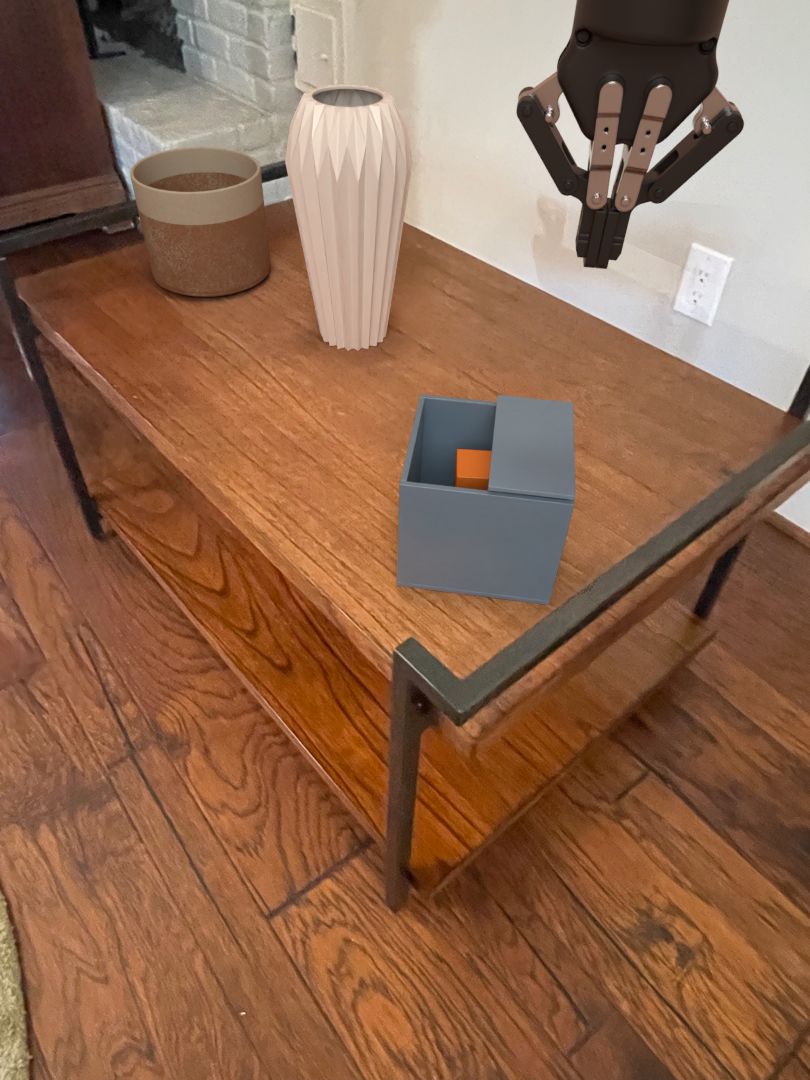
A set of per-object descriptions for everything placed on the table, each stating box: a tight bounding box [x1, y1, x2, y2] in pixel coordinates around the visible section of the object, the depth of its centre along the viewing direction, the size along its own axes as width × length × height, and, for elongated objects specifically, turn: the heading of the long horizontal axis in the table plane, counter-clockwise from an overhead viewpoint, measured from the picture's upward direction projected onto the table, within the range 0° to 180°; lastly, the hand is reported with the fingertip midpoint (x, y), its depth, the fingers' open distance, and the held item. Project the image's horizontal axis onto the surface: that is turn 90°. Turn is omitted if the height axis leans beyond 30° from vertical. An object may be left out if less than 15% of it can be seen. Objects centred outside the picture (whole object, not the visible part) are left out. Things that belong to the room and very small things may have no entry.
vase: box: [284, 83, 413, 352], centre depth 84 cm, size 13×13×26 cm
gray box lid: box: [488, 394, 576, 501], centre depth 59 cm, size 6×12×1 cm, turn 172°
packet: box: [453, 449, 516, 494], centre depth 64 cm, size 5×4×9 cm
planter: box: [129, 146, 271, 298], centre depth 98 cm, size 16×16×14 cm
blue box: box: [395, 393, 575, 606], centre depth 64 cm, size 13×12×12 cm
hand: (595, 262), depth 48 cm, fingers closed
